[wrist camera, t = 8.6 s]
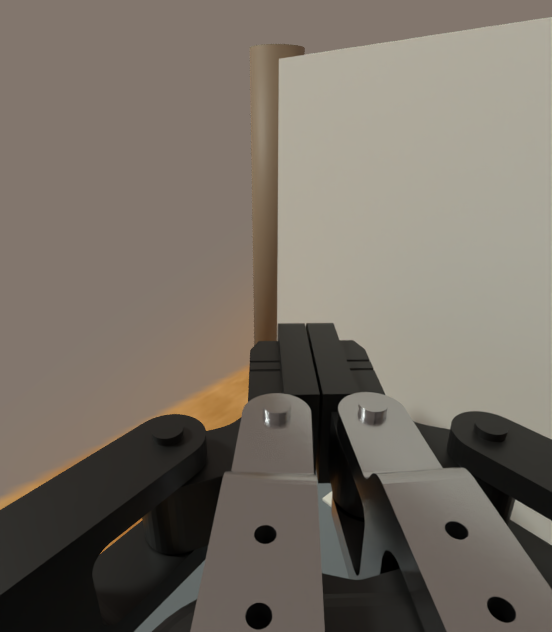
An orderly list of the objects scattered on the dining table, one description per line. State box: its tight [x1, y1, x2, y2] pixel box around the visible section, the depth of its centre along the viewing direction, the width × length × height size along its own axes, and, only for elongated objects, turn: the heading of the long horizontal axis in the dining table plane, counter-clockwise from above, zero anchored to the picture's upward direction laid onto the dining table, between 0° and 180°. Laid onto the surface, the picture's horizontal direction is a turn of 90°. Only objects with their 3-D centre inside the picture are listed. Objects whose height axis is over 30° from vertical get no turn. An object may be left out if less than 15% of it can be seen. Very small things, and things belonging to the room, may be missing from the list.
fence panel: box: [250, 17, 552, 545], centre depth 13 cm, size 14×2×14 cm, turn 37°
